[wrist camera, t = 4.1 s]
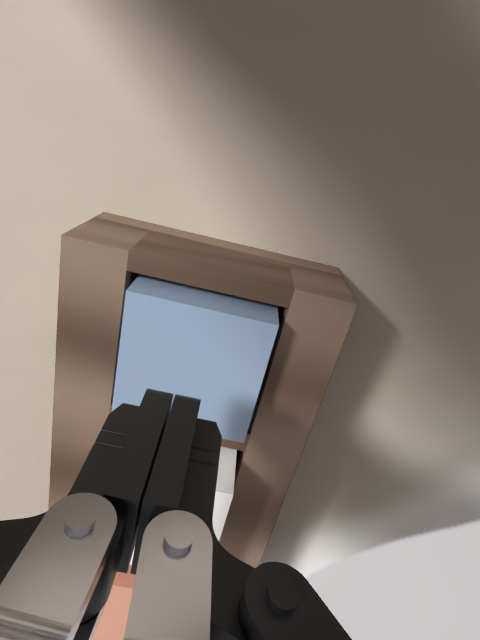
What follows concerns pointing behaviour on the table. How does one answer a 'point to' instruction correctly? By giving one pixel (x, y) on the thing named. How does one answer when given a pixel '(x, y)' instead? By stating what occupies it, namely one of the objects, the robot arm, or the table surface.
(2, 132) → the table surface
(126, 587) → the terracotta key
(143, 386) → the slate blue key
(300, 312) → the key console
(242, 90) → the table surface
